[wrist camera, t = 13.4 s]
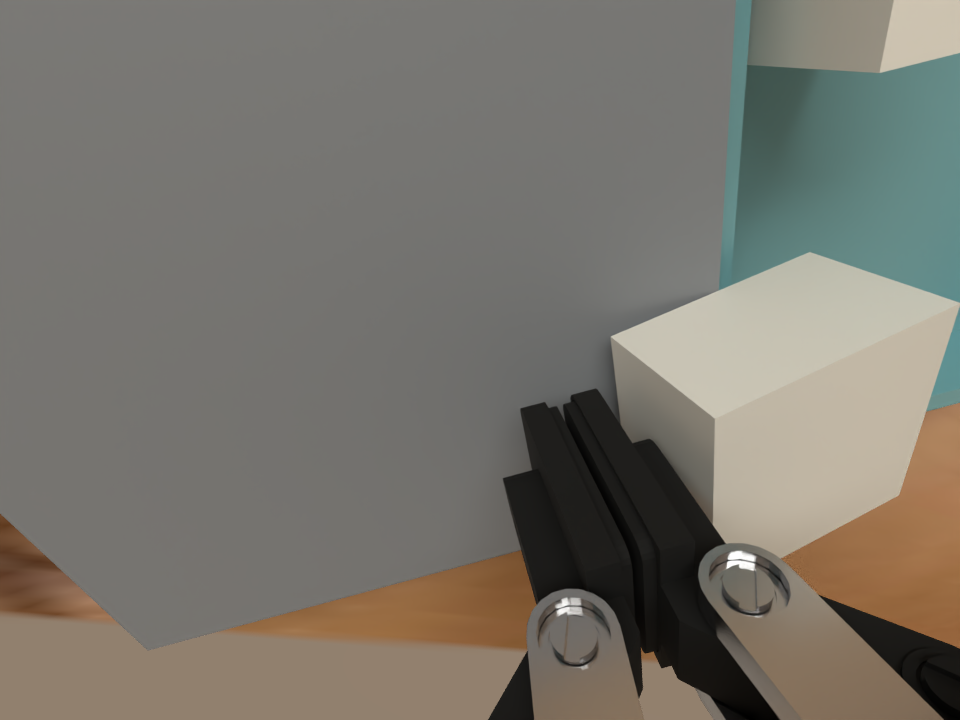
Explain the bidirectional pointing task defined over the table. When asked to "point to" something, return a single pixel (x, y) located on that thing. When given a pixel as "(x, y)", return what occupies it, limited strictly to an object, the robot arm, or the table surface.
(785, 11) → the beige block
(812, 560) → the table surface
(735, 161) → the box
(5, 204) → the plate
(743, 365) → the beige block
